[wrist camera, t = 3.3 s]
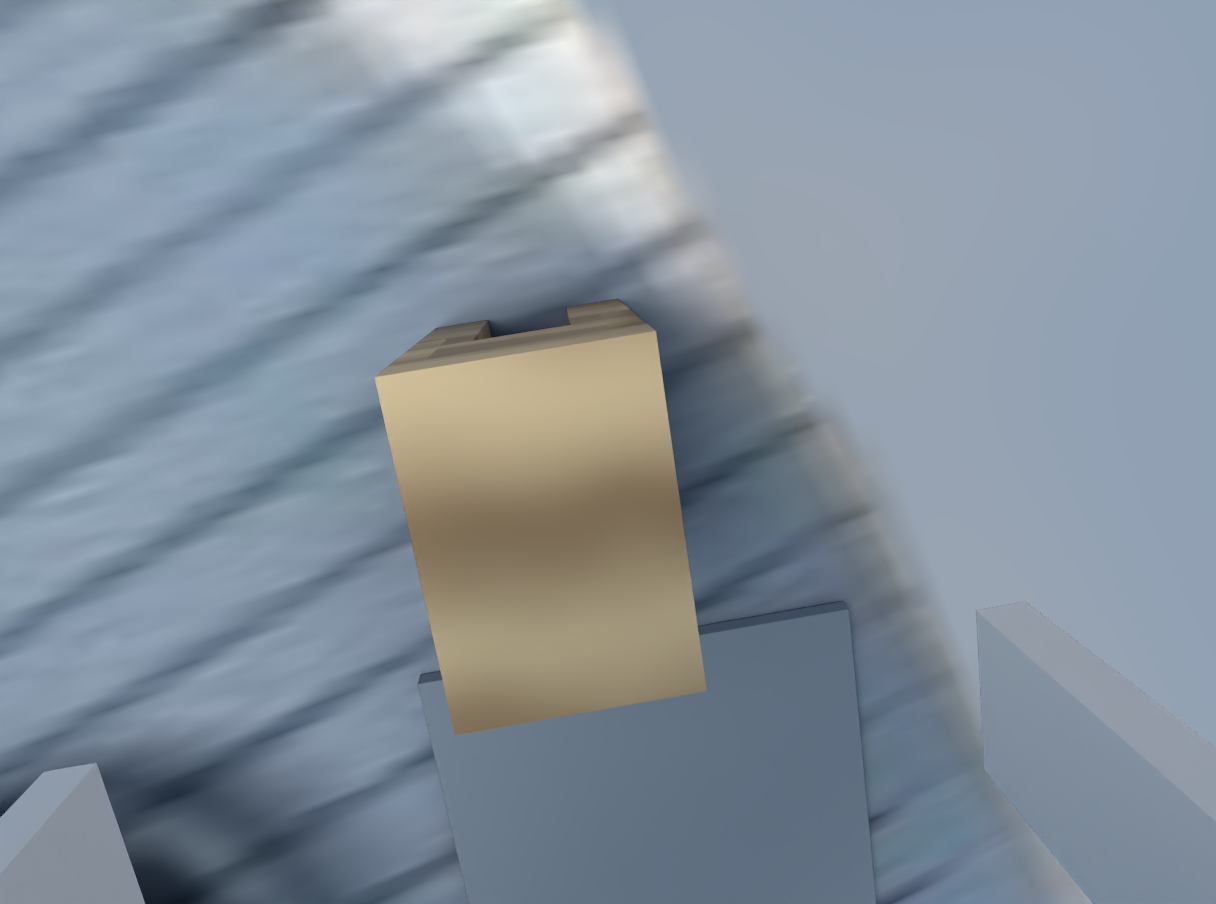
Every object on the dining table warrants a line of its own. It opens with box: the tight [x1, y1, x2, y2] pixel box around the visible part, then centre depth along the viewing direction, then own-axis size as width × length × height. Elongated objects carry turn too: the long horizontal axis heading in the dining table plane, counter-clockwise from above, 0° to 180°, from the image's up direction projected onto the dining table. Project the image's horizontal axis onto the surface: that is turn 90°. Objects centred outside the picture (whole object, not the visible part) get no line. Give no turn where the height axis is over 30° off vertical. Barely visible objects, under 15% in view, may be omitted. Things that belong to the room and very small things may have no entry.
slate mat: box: [418, 601, 876, 904], centre depth 38 cm, size 18×18×1 cm
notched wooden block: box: [375, 299, 707, 735], centre depth 28 cm, size 10×7×12 cm
